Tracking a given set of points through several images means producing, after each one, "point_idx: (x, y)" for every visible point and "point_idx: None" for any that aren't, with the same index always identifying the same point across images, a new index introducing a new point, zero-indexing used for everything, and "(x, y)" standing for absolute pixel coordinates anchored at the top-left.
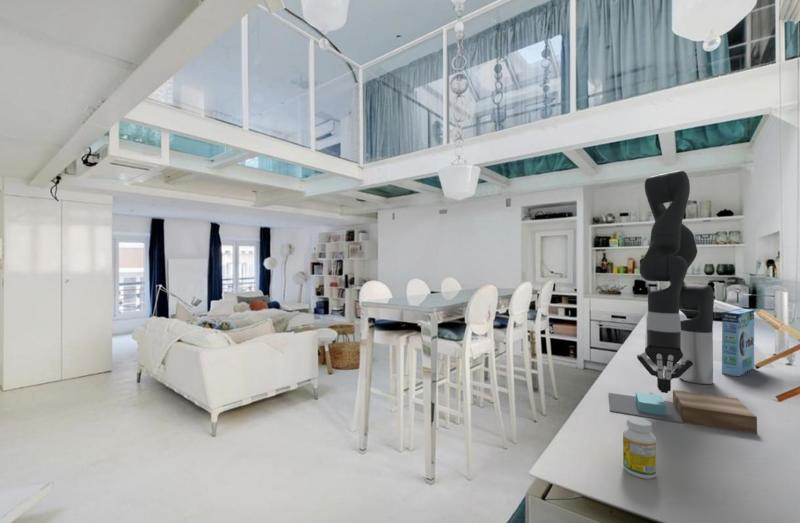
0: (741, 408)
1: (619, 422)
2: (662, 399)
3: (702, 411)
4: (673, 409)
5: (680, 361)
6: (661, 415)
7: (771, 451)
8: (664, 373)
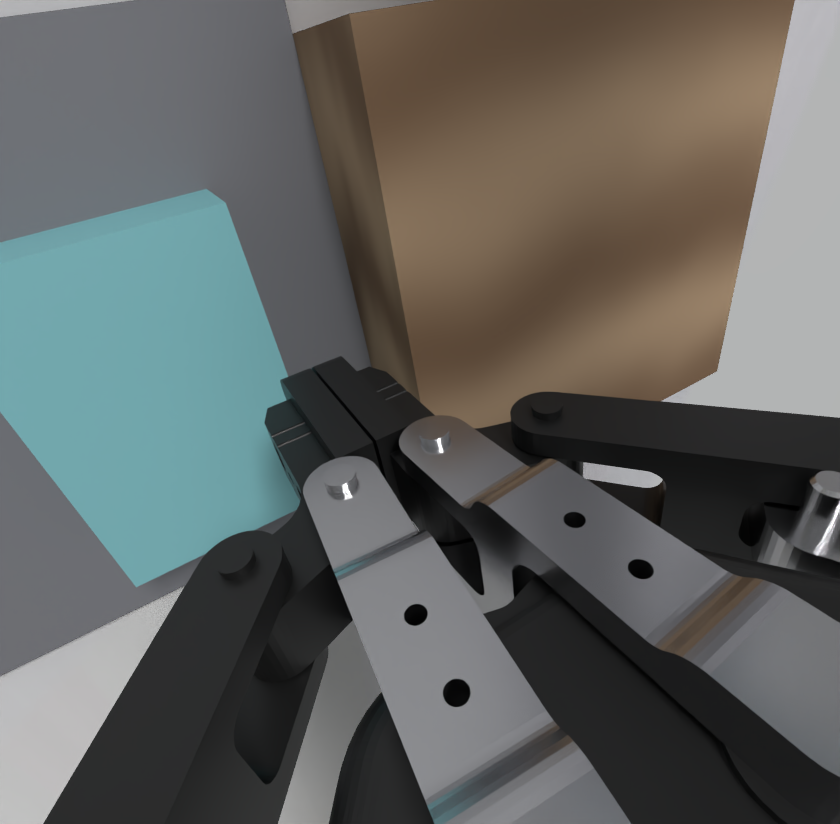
0: (716, 265)
1: None
2: (275, 351)
3: None
4: (326, 276)
5: (807, 566)
6: None
7: (621, 481)
8: (423, 485)
